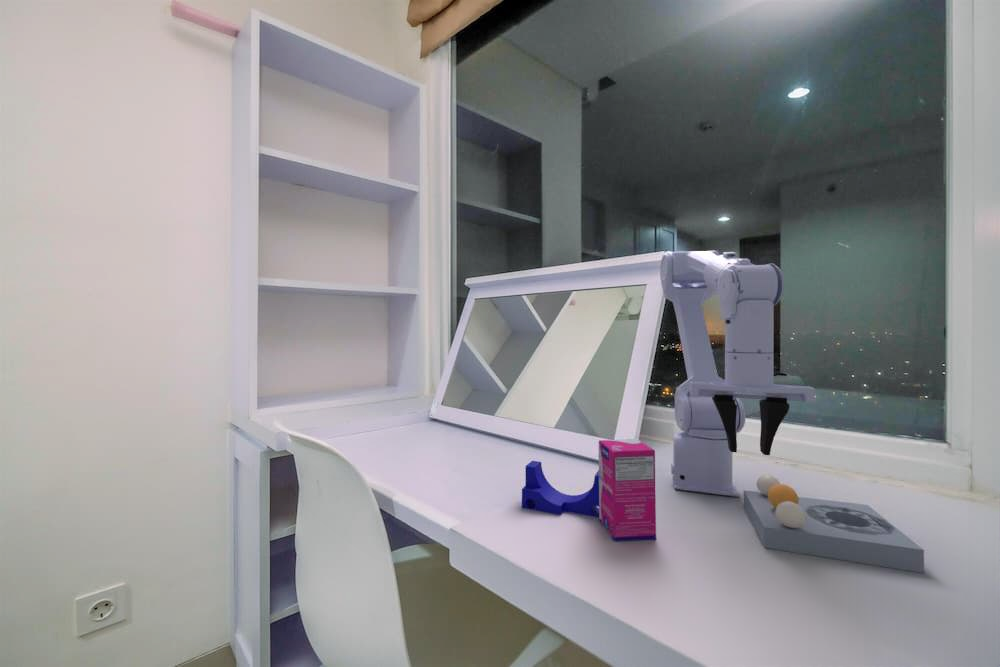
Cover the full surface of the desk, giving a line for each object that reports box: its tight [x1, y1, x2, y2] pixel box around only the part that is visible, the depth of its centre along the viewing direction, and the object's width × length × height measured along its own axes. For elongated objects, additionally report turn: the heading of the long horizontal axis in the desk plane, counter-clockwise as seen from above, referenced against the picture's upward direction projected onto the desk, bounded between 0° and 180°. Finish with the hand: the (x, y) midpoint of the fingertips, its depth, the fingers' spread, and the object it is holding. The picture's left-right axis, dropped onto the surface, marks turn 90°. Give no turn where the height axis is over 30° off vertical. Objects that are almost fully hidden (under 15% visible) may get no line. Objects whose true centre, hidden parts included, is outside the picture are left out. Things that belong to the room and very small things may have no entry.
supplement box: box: [598, 438, 657, 542], centre depth 55 cm, size 6×6×12 cm
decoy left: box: [756, 474, 781, 496], centre depth 61 cm, size 3×3×3 cm
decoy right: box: [776, 501, 806, 528], centre depth 51 cm, size 3×3×3 cm
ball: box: [768, 483, 799, 508], centre depth 55 cm, size 3×3×3 cm
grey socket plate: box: [743, 489, 925, 574], centre depth 54 cm, size 15×13×2 cm
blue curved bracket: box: [521, 460, 599, 518], centre depth 62 cm, size 12×4×6 cm, turn 66°
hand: (748, 451), depth 57 cm, fingers open, 3 cm apart
